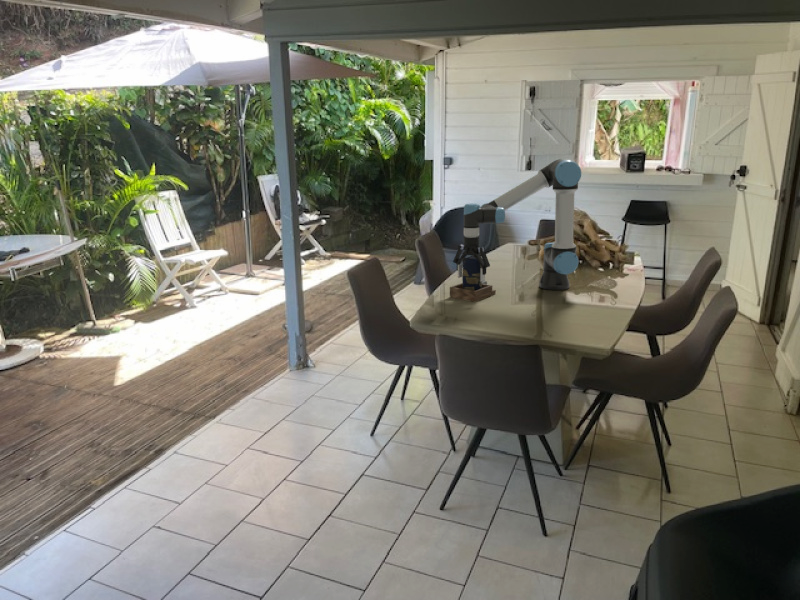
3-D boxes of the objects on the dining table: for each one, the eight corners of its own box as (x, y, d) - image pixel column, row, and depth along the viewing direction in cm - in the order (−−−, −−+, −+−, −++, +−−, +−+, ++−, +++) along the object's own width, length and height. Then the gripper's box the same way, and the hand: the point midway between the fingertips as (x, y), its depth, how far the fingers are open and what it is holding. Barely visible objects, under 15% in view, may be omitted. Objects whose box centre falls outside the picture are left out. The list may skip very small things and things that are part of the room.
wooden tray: (495, 294, 305) (495, 284, 303) (474, 301, 292) (475, 291, 290) (470, 289, 314) (470, 280, 313) (449, 297, 301) (449, 287, 300)
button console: (486, 288, 316) (487, 281, 315) (479, 290, 311) (479, 284, 310) (475, 286, 321) (475, 279, 320) (468, 288, 316) (468, 282, 315)
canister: (480, 294, 296) (481, 258, 291) (461, 294, 298) (461, 257, 293) (482, 290, 305) (483, 254, 300) (463, 289, 307) (463, 254, 302)
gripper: (497, 237, 289) (496, 281, 294) (455, 232, 304) (455, 274, 310) (488, 239, 283) (488, 284, 289) (446, 234, 299) (446, 277, 305)
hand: (471, 279), depth 300 cm, fingers open, 13 cm apart
